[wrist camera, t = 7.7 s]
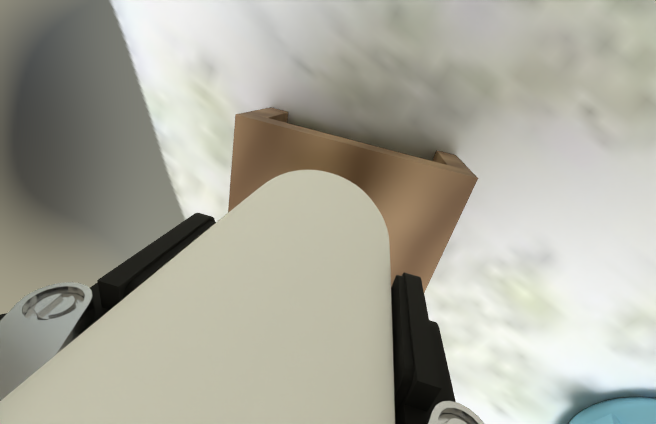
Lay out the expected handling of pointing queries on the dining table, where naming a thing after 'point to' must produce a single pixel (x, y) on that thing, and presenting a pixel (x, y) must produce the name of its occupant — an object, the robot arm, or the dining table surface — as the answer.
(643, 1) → the dining table surface
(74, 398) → the can
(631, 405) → the teapot
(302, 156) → the shelf
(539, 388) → the dining table surface
